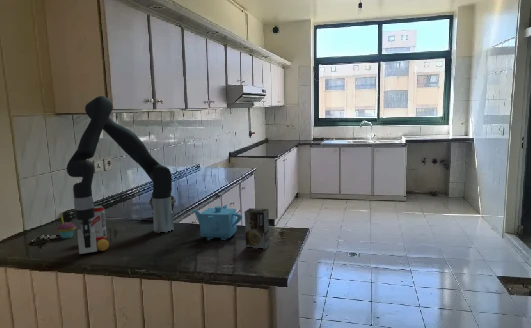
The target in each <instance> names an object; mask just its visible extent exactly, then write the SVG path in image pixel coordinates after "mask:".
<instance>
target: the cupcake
mask: <svg viewBox="0 0 531 328" xmlns="http://www.w3.org/2000/svg"><path fill="white" fill-rule="evenodd" d="M60 218H61V223H60V224H59V225H58V226H56V232H58V233H59V235H60V238H61V239H70V238H72V237H73V235H74V232H75V231H76V230H77V225H76V224H75V223H73V222H64V217H63V215H62V213H60Z"/></svg>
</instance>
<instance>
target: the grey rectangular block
mask: <svg viewBox="0 0 531 328" xmlns="http://www.w3.org/2000/svg"><path fill="white" fill-rule="evenodd" d="M76 230H77V242H78V254H79V255H81V254H88V253H94V252H98V249H97V242H96V234H95V227H93V228H91V233H90V236H91V238H90V244H91V247H90V248H85V242H84V238H83V237H84V234H82V228H80V229H76ZM85 236H89V234H88V233H86V234H85Z"/></svg>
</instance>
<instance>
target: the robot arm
mask: <svg viewBox="0 0 531 328" xmlns="http://www.w3.org/2000/svg"><path fill="white" fill-rule="evenodd" d="M84 106H85V107H84V110H85V113H86V115H87V116H88V118H89V119H90V121H89V122H88V125H87V126H86V128H85V130H84V131H83V133H82V135H81V137H80V140H79V143H78V144H77V145H78V146H77V149H76V151H75V152H74V153H73V155H71V156H72V157H70V159H69V160H68V161H67V165H66V172H67V175H68V176H69V177H71V178H82V179H81V181H80V182H76V183H74V184H73V186H72V191H73V206H74V207H73V208H74V218H75V220H76V221H80V229H82V234H84V237H83V238H84V242H85V248H90V247H91V244H90V238H91V236H90V233H91V218H93V217H94V216H95V214H94V206H95V203H94V198H93V190H92V186H93V180H94V174H95V165H94V163H93V162H92V161H91V160H89V159H92V158H93V157H95V154H96V150H97V147H98V144H99V140H100V138H101V135H102V131H104V132H105V133H106V134H107V135H108V136H109V137H110V138H111V139H112V140H113V141H114V142H115V143H116V144H117V146H119V148H120V149H122V151H123V152H125V154H127V155H128V156H129V158H131V159H132V160H133V161H134V162H135V163H137V164H138V165H139V166H140V167H141V168H142V170H143V171H144V172H145V173H146V175H147V177H149V179H150V180H151V181H152V193H151V197H152V204H153V210H152V213H153V214H152V218H153V219H152V220H153V232H154V233H158V234H161V233H160V232H165V233H169V232H168V231H170V232H171V230H173V231H174V230H175V227H174V226H175V225H174V214H173V212H172V206H171V196H172V192H173V191H172V189H173V186H172V185H173V183H172V182H173V181H172V180H173V179H172V172H171V170H170V169H169V168H168V167H167V166H165V165H162V164H161V163H159V162H158V161H157V160H156V159H155V158H154V157H153V155H151V153H150V152H149V150H148V148H147V146H146V145H145V144H144V142H143V141H142V140H141V139H140V138H139V137H138V135H136V133H135V132H133V131H132V130H131V129H129V128H127V127H125V126H122V124H121V125H120V124H119V123H117V122H116V121H115V120H113V119H112V118H111V116H110V115H111V113H112V111H113V102H112V101H111V100H110V99H109V98H108V97H107V96H103V95H99V96H97V97H95V98H93V99H92V100H90V101H88V103H86V104H85V105H84ZM81 221H82V222H81ZM86 233H88V234H89V236H85V234H86Z"/></svg>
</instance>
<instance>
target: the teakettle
mask: <svg viewBox="0 0 531 328" xmlns="http://www.w3.org/2000/svg"><path fill="white" fill-rule="evenodd" d="M190 211H191V212H193V213H194V214H195V215H196V219H197V223H198V224H199V228H200V238H201V237H202V238H206V239H214V238H220V241H221V240H226V239H227V240H228V239H230V238H231V237H232V236H233V235H234V234H235V233H236V232H237V231H238V226H237V225H238V224H239V223H240V222H241V220H242V219H243V216H242V214H240V213H237V209H236V208H228V204H224V205H223V206H220V205H219V206H218V205H217V206H214V207H211V208H210V207H209V208H208V207H207V209H205V210H203V211H202V212H200V211H199V210H197V209H191V210H190Z"/></svg>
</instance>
